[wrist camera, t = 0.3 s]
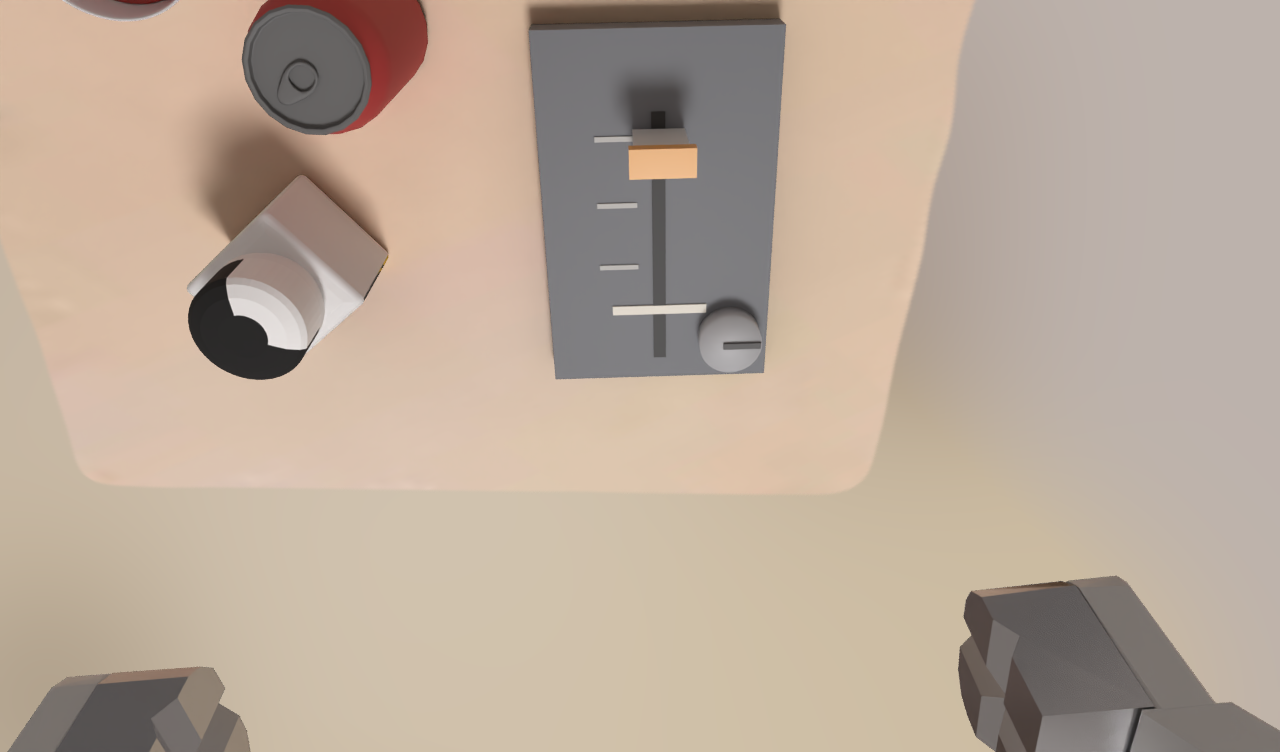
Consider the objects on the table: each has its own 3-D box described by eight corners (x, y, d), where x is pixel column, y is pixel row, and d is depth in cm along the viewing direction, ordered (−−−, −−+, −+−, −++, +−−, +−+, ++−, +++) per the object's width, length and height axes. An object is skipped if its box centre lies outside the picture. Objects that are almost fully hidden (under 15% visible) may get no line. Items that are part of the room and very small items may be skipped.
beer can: (285, 24, 48) (198, 68, 38) (361, -65, 46) (290, -44, 36) (379, 112, 51) (320, 175, 41) (454, 32, 49) (413, 77, 39)
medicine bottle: (319, 319, 58) (256, 418, 47) (229, 242, 55) (141, 330, 44) (392, 253, 56) (342, 343, 45) (303, 170, 53) (228, 245, 42)
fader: (627, 126, 50) (628, 149, 45) (689, 124, 50) (697, 148, 45) (627, 153, 50) (629, 179, 46) (689, 152, 50) (697, 178, 46)
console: (531, 24, 49) (525, 35, 46) (779, 18, 49) (791, 29, 46) (557, 364, 60) (554, 392, 57) (759, 358, 60) (767, 385, 57)
